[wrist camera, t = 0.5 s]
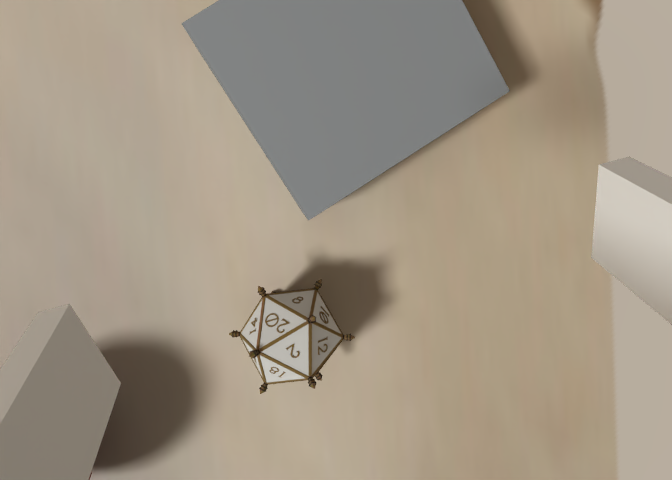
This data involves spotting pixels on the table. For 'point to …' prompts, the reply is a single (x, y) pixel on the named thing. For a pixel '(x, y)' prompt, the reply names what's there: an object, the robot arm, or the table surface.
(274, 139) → the plinth
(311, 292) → the game die
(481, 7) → the table surface
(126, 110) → the table surface
